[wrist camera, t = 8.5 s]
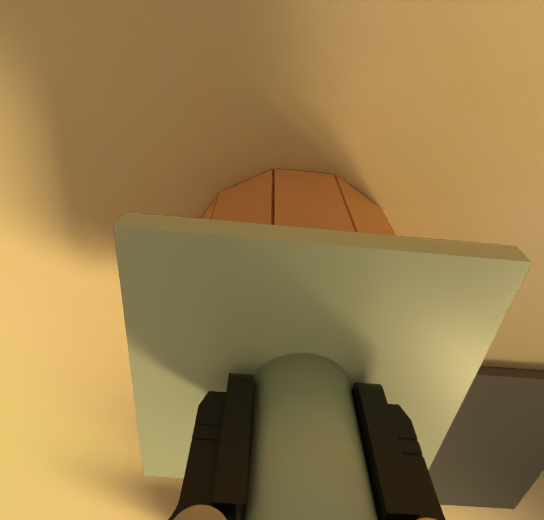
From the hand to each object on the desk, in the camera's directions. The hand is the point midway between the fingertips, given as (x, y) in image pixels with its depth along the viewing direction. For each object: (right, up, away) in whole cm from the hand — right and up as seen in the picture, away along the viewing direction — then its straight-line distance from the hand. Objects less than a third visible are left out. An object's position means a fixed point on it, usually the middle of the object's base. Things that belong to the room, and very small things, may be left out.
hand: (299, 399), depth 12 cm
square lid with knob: (0, +1, +1) cm, 1 cm away
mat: (+10, -7, +12) cm, 17 cm away
